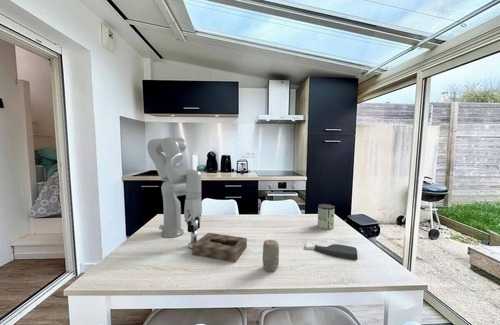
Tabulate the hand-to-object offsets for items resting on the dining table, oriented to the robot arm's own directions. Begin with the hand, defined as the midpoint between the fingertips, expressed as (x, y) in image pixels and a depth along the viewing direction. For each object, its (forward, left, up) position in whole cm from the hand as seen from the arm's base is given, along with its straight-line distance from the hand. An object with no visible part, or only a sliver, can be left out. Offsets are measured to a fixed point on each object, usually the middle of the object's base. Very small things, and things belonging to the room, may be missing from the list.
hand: (193, 229), depth 117 cm
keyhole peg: (0, 0, -9) cm, 9 cm away
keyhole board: (+15, 0, -9) cm, 17 cm away
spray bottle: (+67, +18, -10) cm, 70 cm away
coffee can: (+65, +54, -9) cm, 85 cm away
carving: (+42, -8, -9) cm, 44 cm away
